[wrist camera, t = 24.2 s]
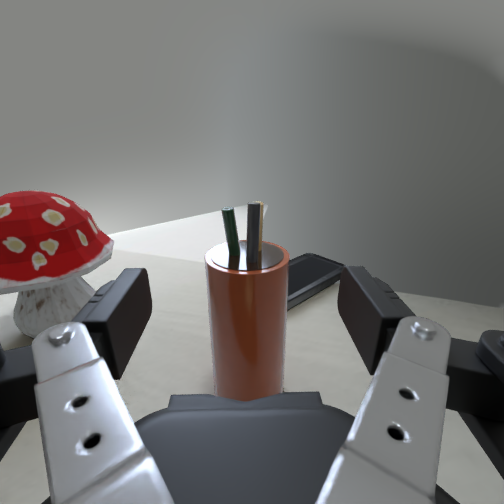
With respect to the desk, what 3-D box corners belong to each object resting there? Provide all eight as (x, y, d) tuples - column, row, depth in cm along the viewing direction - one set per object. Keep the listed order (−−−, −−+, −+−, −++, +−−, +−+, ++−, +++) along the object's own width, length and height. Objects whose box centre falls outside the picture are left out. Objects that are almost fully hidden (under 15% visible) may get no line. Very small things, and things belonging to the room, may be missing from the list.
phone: (351, 267, 44) (282, 304, 35) (350, 273, 44) (282, 312, 35) (308, 251, 49) (240, 280, 40) (308, 257, 50) (240, 288, 40)
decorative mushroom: (142, 331, 32) (117, 194, 26) (-25, 392, 25) (-111, 222, 19) (114, 281, 43) (91, 175, 37) (-10, 314, 35) (-63, 188, 29)
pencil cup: (221, 428, 22) (207, 215, 15) (209, 371, 27) (195, 193, 20) (293, 409, 23) (308, 207, 17) (269, 358, 28) (273, 188, 22)
